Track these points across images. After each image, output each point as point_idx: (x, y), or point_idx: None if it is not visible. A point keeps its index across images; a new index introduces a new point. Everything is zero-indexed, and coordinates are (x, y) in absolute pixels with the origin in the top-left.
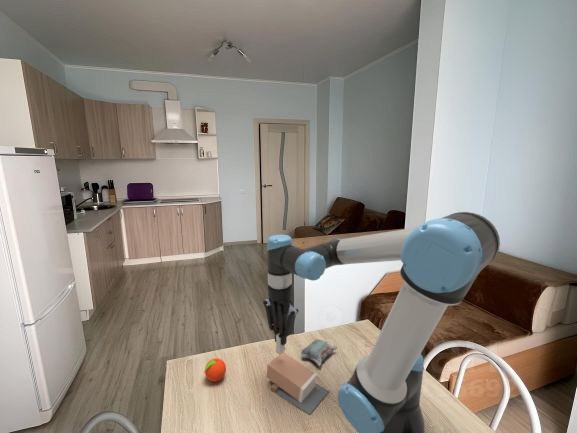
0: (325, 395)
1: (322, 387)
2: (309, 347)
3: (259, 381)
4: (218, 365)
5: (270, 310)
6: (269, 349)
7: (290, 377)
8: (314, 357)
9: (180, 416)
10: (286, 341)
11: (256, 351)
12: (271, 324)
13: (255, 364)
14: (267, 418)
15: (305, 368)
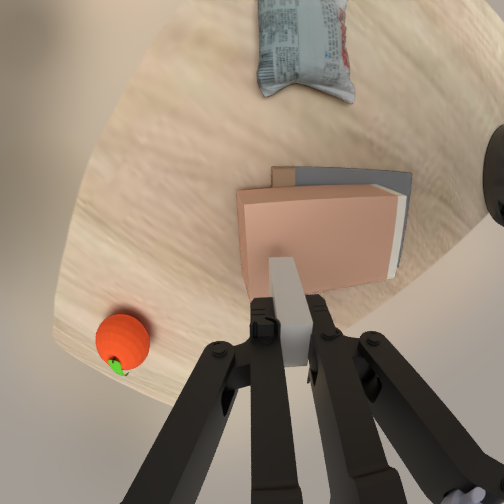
0: (409, 193)
1: (393, 173)
2: (286, 57)
3: (219, 267)
4: (131, 360)
5: (188, 501)
6: (126, 136)
7: (346, 277)
8: (324, 83)
9: None
10: (324, 302)
11: (104, 178)
12: (229, 414)
13: (151, 225)
14: None
15: (367, 204)
